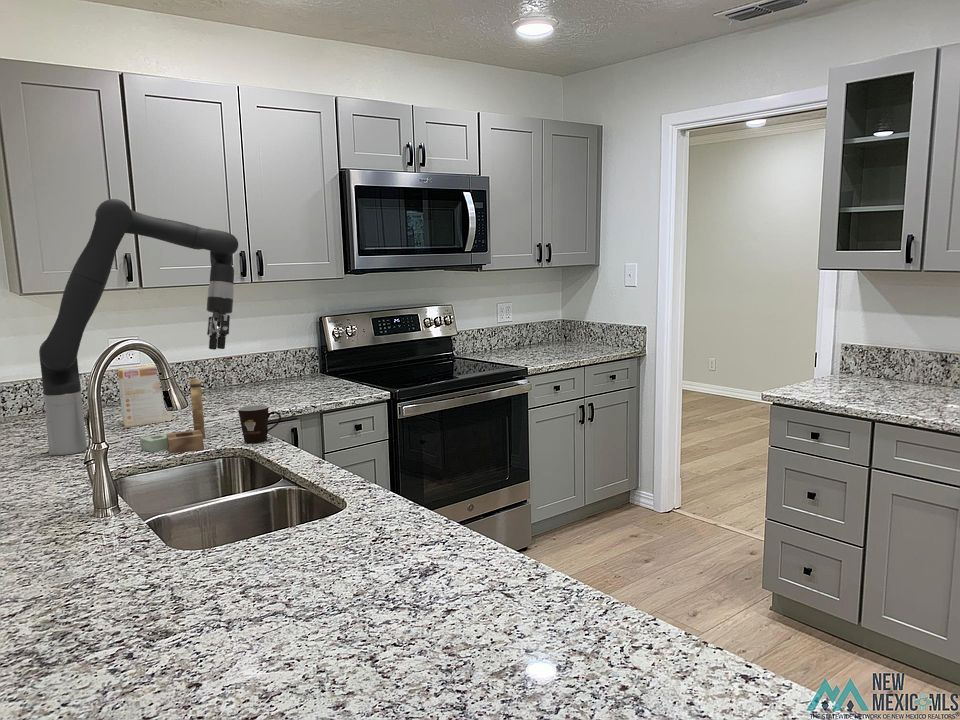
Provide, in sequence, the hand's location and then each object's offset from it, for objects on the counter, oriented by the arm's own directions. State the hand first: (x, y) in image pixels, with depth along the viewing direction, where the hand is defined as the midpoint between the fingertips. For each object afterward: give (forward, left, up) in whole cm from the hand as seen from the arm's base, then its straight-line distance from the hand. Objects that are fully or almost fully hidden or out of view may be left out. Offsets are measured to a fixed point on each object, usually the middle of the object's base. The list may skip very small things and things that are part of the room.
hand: (216, 349), depth 222 cm
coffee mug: (+8, -20, -27) cm, 34 cm away
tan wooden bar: (-7, -5, -26) cm, 28 cm away
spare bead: (-19, -11, -26) cm, 34 cm away
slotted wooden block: (-12, -16, -26) cm, 33 cm away
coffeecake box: (-20, +32, -27) cm, 46 cm away
